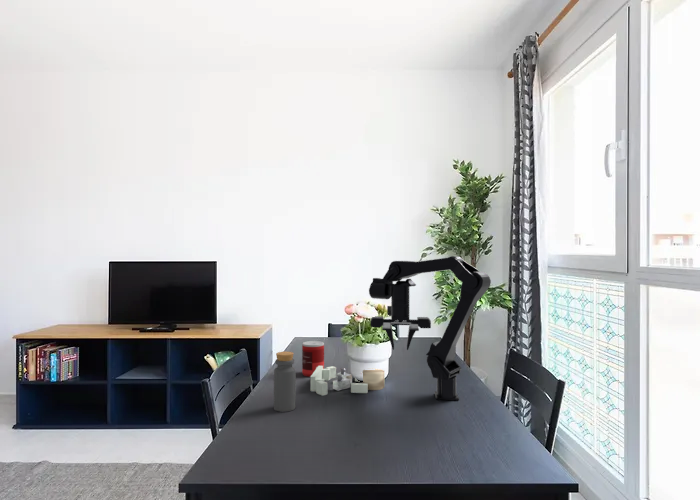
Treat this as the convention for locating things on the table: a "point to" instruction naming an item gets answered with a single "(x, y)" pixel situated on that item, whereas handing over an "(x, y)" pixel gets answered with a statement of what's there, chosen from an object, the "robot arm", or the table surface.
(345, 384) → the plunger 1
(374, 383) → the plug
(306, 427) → the table surface
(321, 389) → the dock
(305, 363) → the canned food
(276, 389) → the bottle
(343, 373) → the plunger
